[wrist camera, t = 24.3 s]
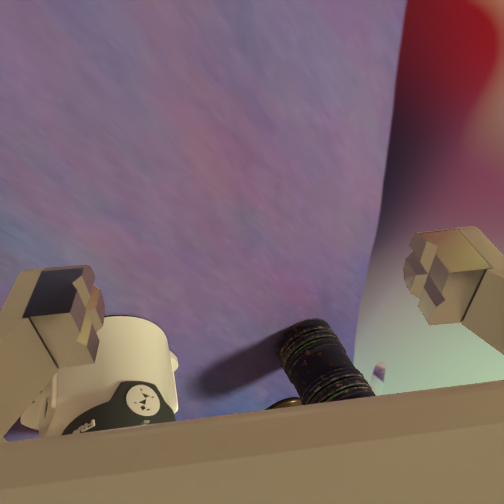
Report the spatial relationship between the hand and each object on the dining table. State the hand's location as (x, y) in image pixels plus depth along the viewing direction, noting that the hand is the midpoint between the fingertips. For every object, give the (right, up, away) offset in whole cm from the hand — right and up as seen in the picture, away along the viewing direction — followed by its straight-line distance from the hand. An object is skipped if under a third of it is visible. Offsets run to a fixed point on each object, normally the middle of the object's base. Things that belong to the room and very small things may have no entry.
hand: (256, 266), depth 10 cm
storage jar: (+8, -14, +55) cm, 57 cm away
